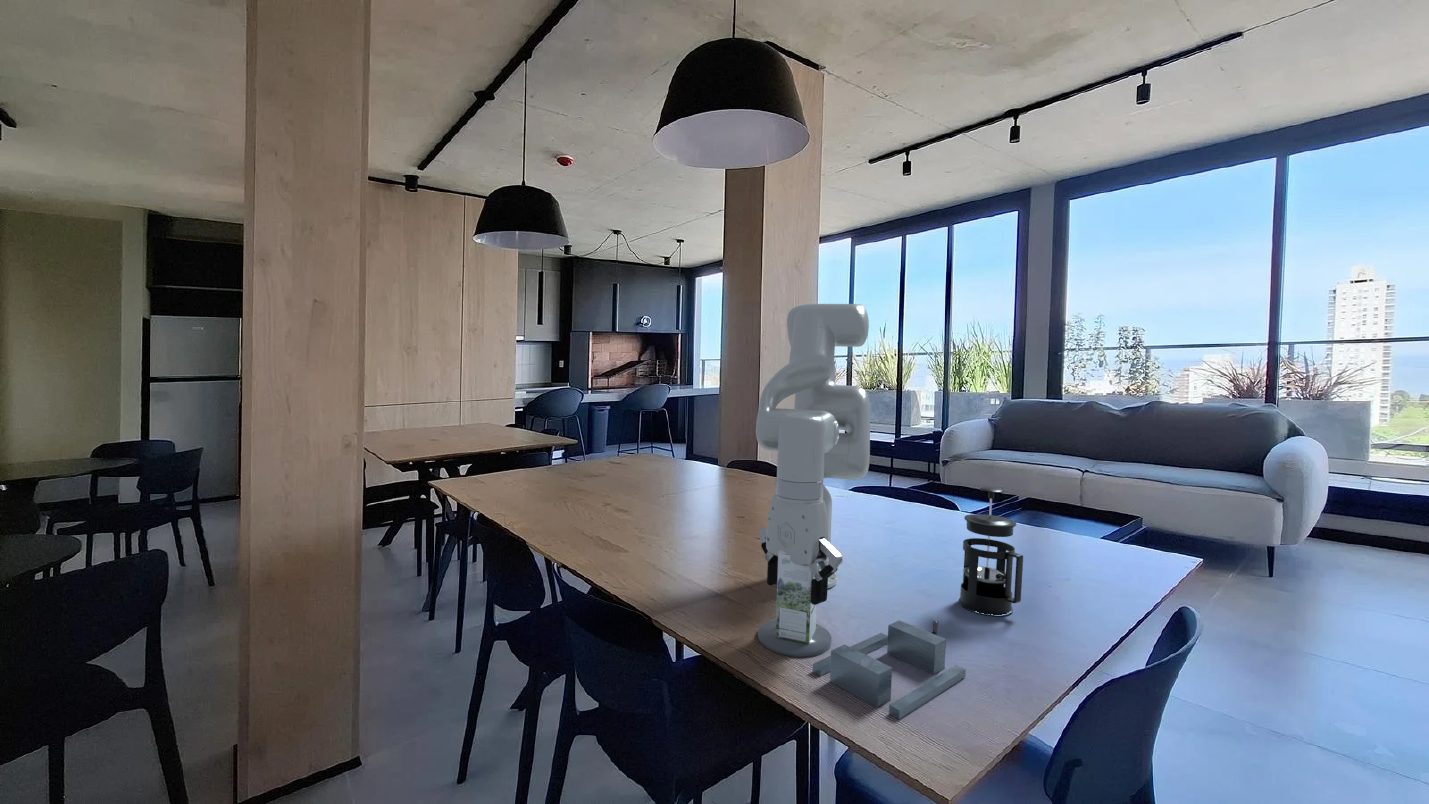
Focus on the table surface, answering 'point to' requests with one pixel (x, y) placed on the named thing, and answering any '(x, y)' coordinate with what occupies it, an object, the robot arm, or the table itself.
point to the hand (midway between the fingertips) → (795, 592)
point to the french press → (986, 583)
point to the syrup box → (794, 601)
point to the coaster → (794, 642)
